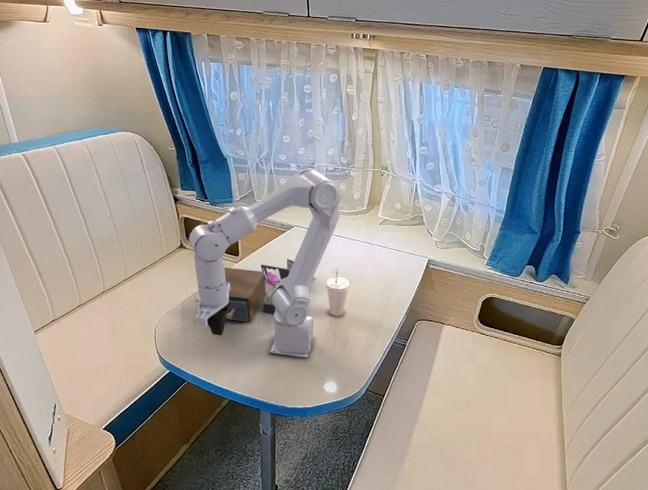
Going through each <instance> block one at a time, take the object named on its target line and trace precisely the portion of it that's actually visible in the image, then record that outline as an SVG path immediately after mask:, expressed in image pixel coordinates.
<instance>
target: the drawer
mask: <svg viewBox="0 0 648 490" xmlns="http://www.w3.org/2000/svg"><path fill="white" fill-rule="evenodd" d="M229 302H230V308H229V310H228V312H227V315H226V320H231V321H232V320H233V321H240V322H247V320H248V311H247V301H244V300H236V299H229Z"/></svg>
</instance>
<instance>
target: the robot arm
mask: <svg viewBox="0 0 648 490" xmlns="http://www.w3.org/2000/svg"><path fill="white" fill-rule="evenodd" d="M342 198H343V195H342V193H341V191H340V189H339V187H338V185H337V183H336V182H334V181H333V180H330V179H328V178H327V177H326V176H323V175H322V174H321V173H319V171H317V169H314V168H305V169H303V170H301V171H299V172H298V173H295V174H293V175H291V176H290V177H289V178H288V180H287V181H286V182H285V183H284V184H282V185H281V186H278V187H277V188H275V189H274V190H273V191H271V192H270V193H269V194H267V195H265V196H264V197H263V198H260V199H259V200H258V201H256V202H254V203H253V204H252V205H250V206H249V207H246V206H243V205H242V206H241V205H239V206H237V207H235V206H232V207H230V208H228V209H227V210H228V212H227V213H225V214H223V215H221V216H220V217H218V218H216V219H214V220H209V221H208V222H207V224H206V223H205V224H199V225H197V226H196V227H194V228H193V229H192V230H191V232H190V233H189V237H188V239H187V240H188V242H189V244H190V246H191V247H192V249H193V255H194V256H193V258H194V268H195V269H194V270H195V275H196V281H197V282H196V283H197V288H198V294H197V295H196V297H195V298H194V302H195V303H198V308H197V314H196V316H195V323H196V324H195V325H196V326H197V327H198V326H199V327H207V326H208V327H209V329H210V331H211V333H212V335H215V336H222V335H223V334H224V331H225V326H226V321H227V319H226V315H227V312H228V310H229V308H230V302H229V291H230V290H231V287H230V283H228V282H226V279H225V269H224V268H225V261H224V258H223V257H224V255H225V253H226V250H227V249H228V248H229V247H230V246H231V245H233V244H236V243H237V242H238V241H240V240H242V239H244V238H246V237H247V236H249V235H250V234H252V233H254V232H255V231H256V228H257V226H258V223H259V222H262V221H263V220H266V219H267V218H269V217H271V216H273V215H275V214H277V213H279V212H281V211H283V210H285V209H286V208H288V207H291V206H296V207H301V208H305V209H309V211H310V212H311V215H312V218H311V221H310V223H309V226H308V228H307V230H306V233H305V234H304V238H303V240H302V242H301V245H300V247H299V249H298V251H297V254H296V255H297V256H296V258H295V261H294V263H293V265H292V268H291V270H290V273H289V275H288V277H286V278H283V279H280V280H279V281H280V282H278V284H277V286H276V288H275V289H272V291H271V293H270V296H269V297H270V301H271V303H272V304H273V305H274V306H275V313H273V322H274V324H273V325H274V341H273V343H272V346H271V347H270V348H271V349H270V350H269V353H270V354H273V355H275V354H276V355H282V356H283V355H284V356H291V357H299V358H308V357H309V354H310V351H311V349H312V345H313V343H314V318H313V317H311V316H309V315H308V314H309V305H310V303H311V294H310V285H311V283H312V280H313V279H314V278H313V276H314V277H315V273H316V272H317V270H318V267H319V265H320V263H321V260H322V258H323V256H324V254H325V252H326V249H327V247H328V246H329V245H328V244H329V243H330V241H331V238H332V236H333V234H334V232H335V229H336V227H337V226H338V225H337V224H338V222H339V220H340V202H341V200H342ZM312 278H313V279H312Z"/></svg>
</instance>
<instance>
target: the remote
mask: <svg viewBox="0 0 648 490" xmlns="http://www.w3.org/2000/svg"><path fill="white" fill-rule="evenodd" d="M262 305H263V306H262V307H263V313H268V314H269V313H271V314H274V313H275V306H274V305H273V304H272V303H271V301H270V296H268V295H267V296H266V298H265V300H264V302H263V303H262Z"/></svg>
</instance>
